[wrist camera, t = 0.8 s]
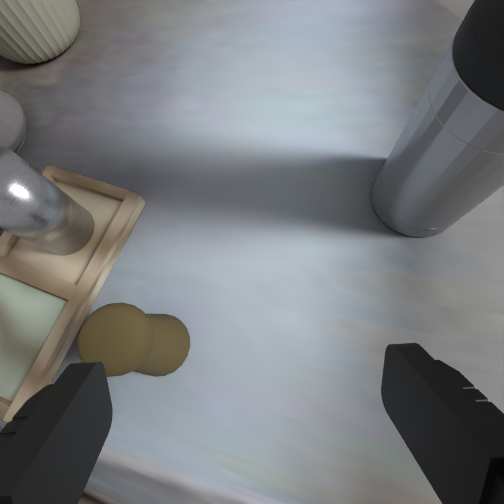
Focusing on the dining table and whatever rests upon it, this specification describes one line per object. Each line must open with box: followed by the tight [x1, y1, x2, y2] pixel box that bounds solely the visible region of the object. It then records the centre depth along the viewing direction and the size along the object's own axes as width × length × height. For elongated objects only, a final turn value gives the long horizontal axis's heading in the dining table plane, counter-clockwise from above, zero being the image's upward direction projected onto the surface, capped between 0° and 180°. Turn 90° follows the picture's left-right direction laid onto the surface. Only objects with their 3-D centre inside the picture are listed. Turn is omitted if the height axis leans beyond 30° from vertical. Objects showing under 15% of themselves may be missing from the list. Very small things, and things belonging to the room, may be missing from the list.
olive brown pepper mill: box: [77, 303, 190, 377], centre depth 27 cm, size 6×6×11 cm
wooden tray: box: [0, 164, 146, 423], centre depth 34 cm, size 25×12×2 cm, turn 159°
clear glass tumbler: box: [0, 146, 95, 256], centre depth 30 cm, size 6×6×11 cm
